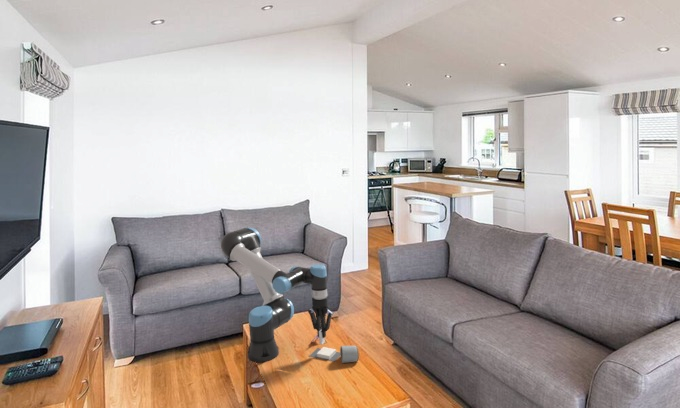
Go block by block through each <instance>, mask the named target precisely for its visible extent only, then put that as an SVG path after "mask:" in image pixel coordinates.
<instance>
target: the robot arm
mask: <svg viewBox="0 0 680 408" xmlns="http://www.w3.org/2000/svg"><path fill="white" fill-rule="evenodd" d="M261 243H262V236H261V234H260V232H259V231H258V230H257V229H255V228H253V227H244V228H240V229H237V230H234V231H230V232H227V233H226V234H225V235H223V237H222V238H221V241H220V249H221V252H222V254H224V256H225V257H227V258H228V259H229V260H231V261H233V262H235V261H236V262H237V263H240V264H241V265H242V266H243V267H245V268H247V269H248V270H249V271H250V274H251V276H252V279H253V280H254V282H255V284H256V286H257V288H258V292H259V293H260V295H261V298H262V300H263V303H262V305H261V306H257V307H254V308H253V309H251V310H250V312H249V314H248V326H249V327H248V328H249V340H250V342H249V345H248V350H247V358H248V360H249V361H251V362H252V363H260V364H261V363H266V362H270V361H273V360H274V359H276V358H277V357H278V356H279V353H280V351H279V349H280V348H279V347H278V345H277V342H276V338H275V330H276V329H278V328H279V327H282V326H283V325H284V324H287V323H288V322H289V321H290V320H292V318H293V317H294V313H295V307H294V305H293V302H292V301H291V300H289V299H288V298H285V296H284V293H287V292H289V291H291V290H292V289H294V288H296V287H298V286H300V285H303V284H306V285H310V286H311V302H312V307H311V308H310V309H308V310H307V312H308V314H309V316H310V320H311V324H312V328H313V330H315V331H317V332H316V334H317V333H318V337H319V338H318V340H319V345H322V346H323V345H324V344H325V343H326V341H325V340H326V339H325V338H326V336H327V335H326V334H327V331H328V330H329V329H330V326H331V321H332V316H333V314H334V311H331V310H330V308H329V306H328V305H329V301H328V284H327V283H328V282H327V276H328V273H327V267H326V266H325V265H324V264H318V263H317V264H312V265H310V267H304V266H303V267H302V266H292V267H291V268H290V269H289V271H288V272H286V271H283V270H281V269H280V268H278V267H277V266H275V265H273V264H272V263H270V262H268V261H267V260H266V259H264V258H263V256H262V254H261V251H262V247H261Z"/></svg>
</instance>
